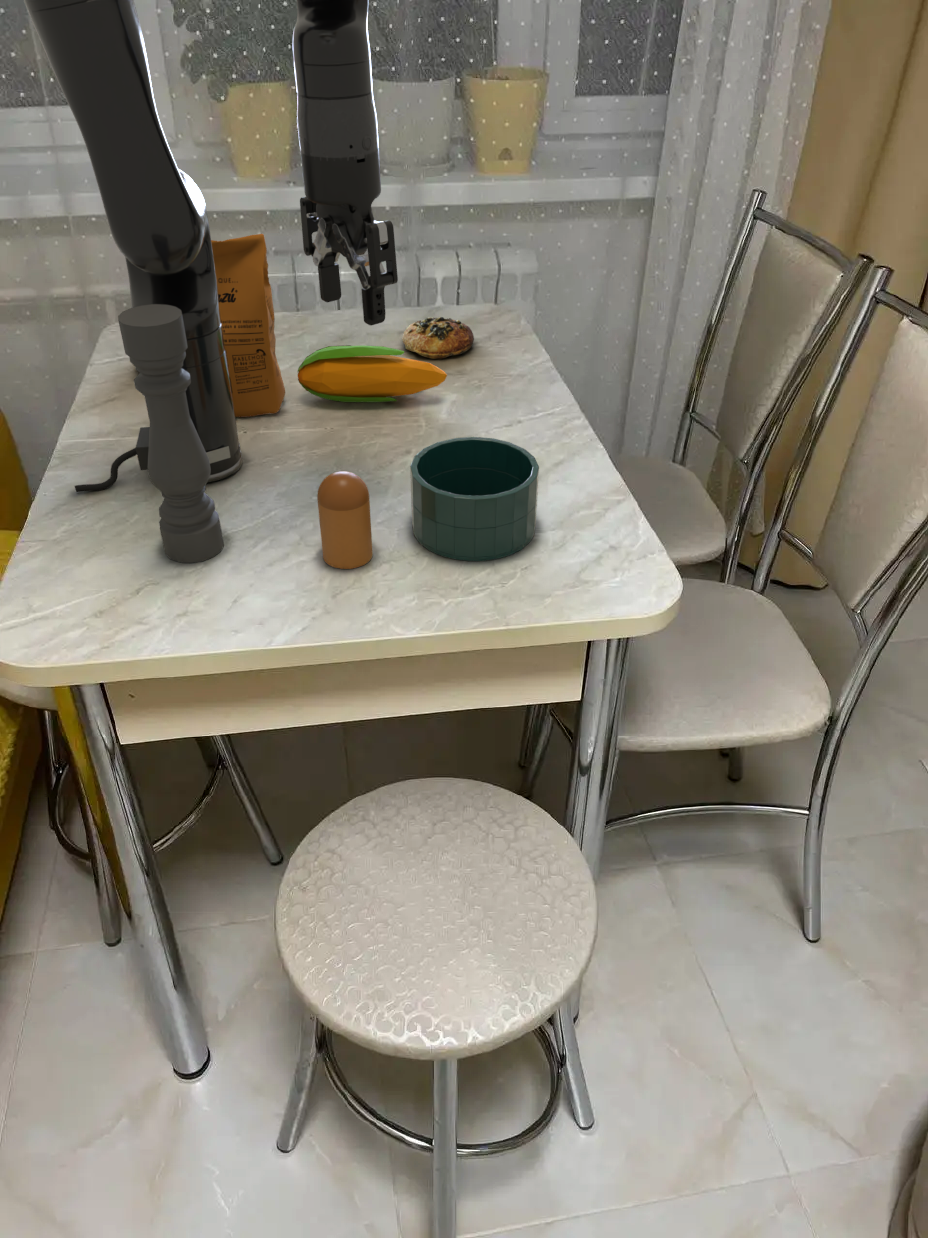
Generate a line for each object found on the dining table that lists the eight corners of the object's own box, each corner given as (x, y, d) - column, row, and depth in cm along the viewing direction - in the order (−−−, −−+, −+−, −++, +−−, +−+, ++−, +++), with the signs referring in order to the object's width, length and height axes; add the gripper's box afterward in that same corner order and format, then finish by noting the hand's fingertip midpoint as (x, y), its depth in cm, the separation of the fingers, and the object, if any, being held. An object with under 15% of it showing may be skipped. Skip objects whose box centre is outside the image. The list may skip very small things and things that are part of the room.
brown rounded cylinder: (324, 571, 100) (316, 489, 94) (322, 543, 104) (314, 463, 98) (374, 566, 101) (369, 485, 95) (370, 539, 105) (365, 460, 99)
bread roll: (488, 339, 149) (485, 308, 146) (449, 373, 143) (445, 342, 139) (428, 327, 154) (424, 297, 151) (388, 360, 148) (382, 329, 144)
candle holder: (199, 524, 107) (157, 298, 92) (236, 544, 104) (199, 313, 89) (152, 548, 103) (100, 316, 88) (189, 569, 100) (142, 333, 85)
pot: (420, 566, 101) (419, 503, 96) (406, 500, 112) (404, 441, 107) (547, 555, 103) (551, 493, 98) (521, 491, 113) (523, 433, 109)
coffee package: (201, 387, 135) (173, 222, 122) (291, 387, 136) (273, 222, 122) (185, 419, 128) (154, 246, 114) (281, 419, 128) (260, 247, 114)
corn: (298, 333, 131) (447, 333, 131) (304, 384, 136) (447, 385, 136) (291, 358, 125) (446, 359, 126) (297, 411, 131) (447, 412, 131)
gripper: (268, 138, 96) (288, 301, 106) (345, 164, 87) (359, 340, 97) (333, 127, 100) (346, 286, 110) (414, 152, 91) (420, 322, 101)
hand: (352, 311), depth 104 cm, fingers open, 8 cm apart
